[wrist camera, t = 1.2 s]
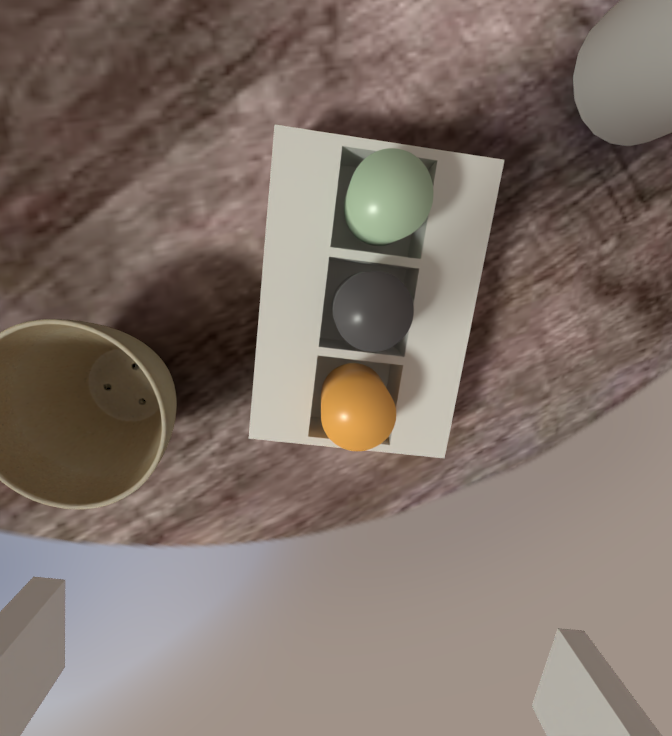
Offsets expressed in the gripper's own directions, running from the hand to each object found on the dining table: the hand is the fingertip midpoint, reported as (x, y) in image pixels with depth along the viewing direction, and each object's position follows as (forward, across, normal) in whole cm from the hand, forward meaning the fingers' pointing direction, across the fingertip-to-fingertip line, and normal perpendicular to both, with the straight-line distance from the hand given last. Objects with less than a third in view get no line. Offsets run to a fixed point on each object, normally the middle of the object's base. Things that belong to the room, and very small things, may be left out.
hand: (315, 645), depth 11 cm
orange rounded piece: (+15, +2, +3) cm, 16 cm away
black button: (+15, +2, +8) cm, 17 cm away
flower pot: (+18, -13, +1) cm, 22 cm away
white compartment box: (+18, +2, +8) cm, 20 cm away
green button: (+15, +1, +14) cm, 21 cm away
